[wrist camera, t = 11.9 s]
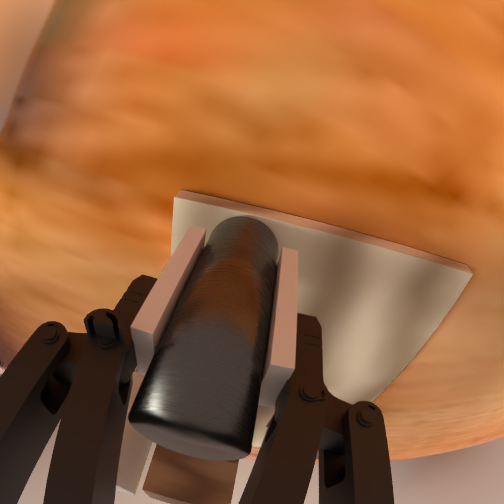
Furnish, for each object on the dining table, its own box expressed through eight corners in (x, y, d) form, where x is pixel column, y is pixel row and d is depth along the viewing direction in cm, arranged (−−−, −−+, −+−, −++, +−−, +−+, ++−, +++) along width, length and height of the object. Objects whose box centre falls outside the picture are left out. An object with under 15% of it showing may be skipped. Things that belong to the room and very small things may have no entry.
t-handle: (194, 377, 23) (160, 488, 15) (214, 209, 15) (118, 393, 6) (237, 387, 23) (212, 501, 15) (286, 226, 15) (263, 433, 6)
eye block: (175, 421, 32) (150, 503, 22) (180, 189, 16) (39, 374, 6) (314, 447, 32) (308, 529, 22) (466, 265, 16) (545, 428, 6)
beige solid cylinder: (130, 405, 32) (99, 484, 22) (87, 365, 29) (44, 450, 19) (180, 406, 30) (151, 501, 20) (135, 363, 26) (89, 470, 16)
